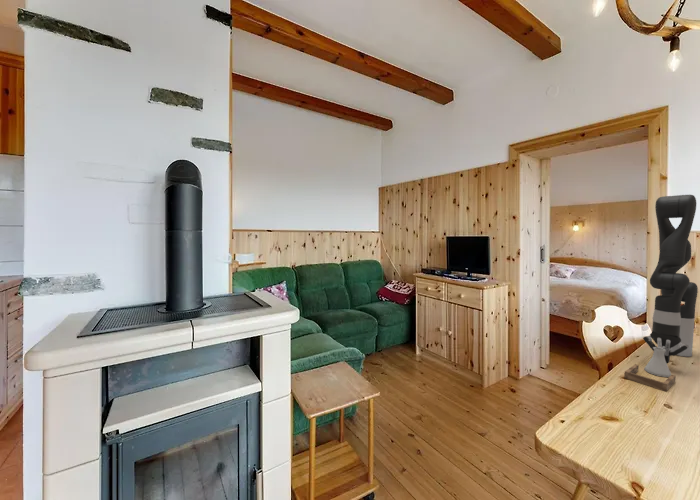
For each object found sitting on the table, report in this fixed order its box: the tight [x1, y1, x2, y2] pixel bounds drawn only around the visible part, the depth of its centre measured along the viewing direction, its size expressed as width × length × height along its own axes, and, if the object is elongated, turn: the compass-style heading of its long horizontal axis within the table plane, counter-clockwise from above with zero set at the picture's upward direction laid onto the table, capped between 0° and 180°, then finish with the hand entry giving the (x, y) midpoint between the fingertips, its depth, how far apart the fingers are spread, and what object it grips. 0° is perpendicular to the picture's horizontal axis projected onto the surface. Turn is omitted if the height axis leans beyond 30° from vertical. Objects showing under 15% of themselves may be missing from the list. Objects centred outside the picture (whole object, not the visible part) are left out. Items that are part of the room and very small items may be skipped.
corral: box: [623, 363, 676, 392], centre depth 108 cm, size 12×11×2 cm
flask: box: [643, 346, 672, 378], centre depth 114 cm, size 7×7×10 cm
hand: (663, 363), depth 118 cm, fingers closed
